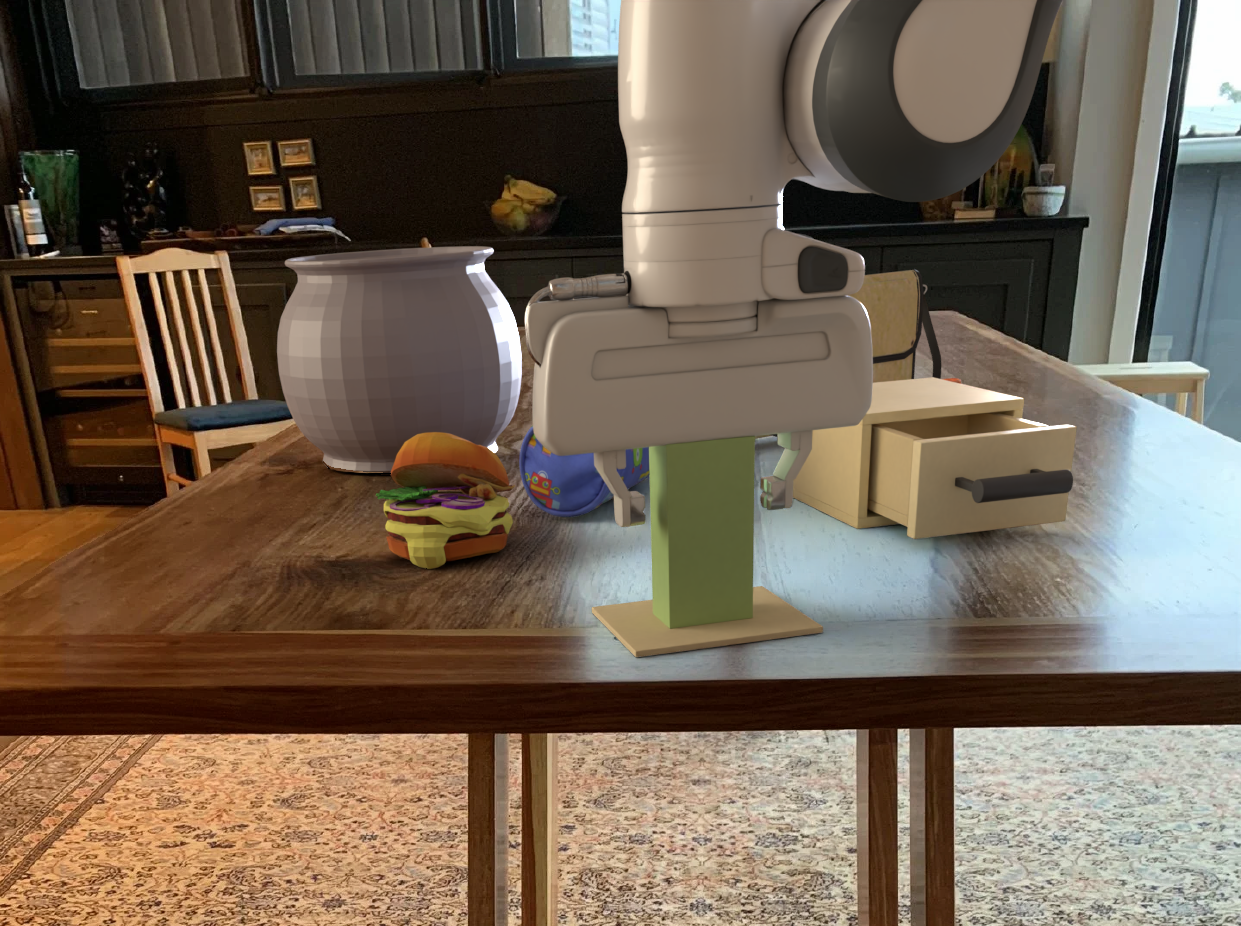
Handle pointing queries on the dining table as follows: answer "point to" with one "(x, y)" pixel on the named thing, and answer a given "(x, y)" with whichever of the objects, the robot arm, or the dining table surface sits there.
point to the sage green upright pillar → (702, 531)
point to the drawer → (970, 473)
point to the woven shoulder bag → (896, 324)
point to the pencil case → (572, 478)
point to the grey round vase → (397, 352)
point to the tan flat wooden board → (703, 626)
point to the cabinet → (844, 453)
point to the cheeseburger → (446, 501)
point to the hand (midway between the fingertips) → (704, 516)
